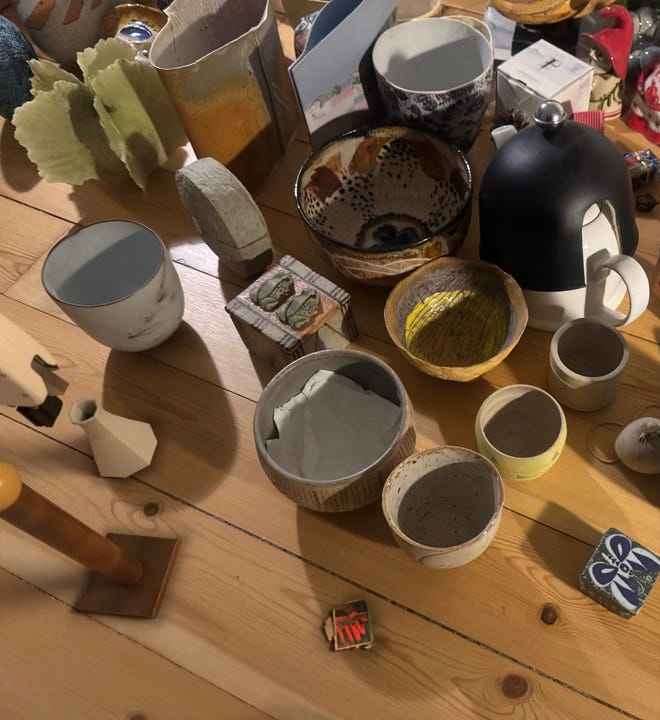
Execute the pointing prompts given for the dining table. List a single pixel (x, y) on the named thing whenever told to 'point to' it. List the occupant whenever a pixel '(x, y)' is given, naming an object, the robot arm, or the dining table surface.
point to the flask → (114, 439)
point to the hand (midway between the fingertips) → (50, 414)
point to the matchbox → (350, 625)
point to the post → (94, 551)
